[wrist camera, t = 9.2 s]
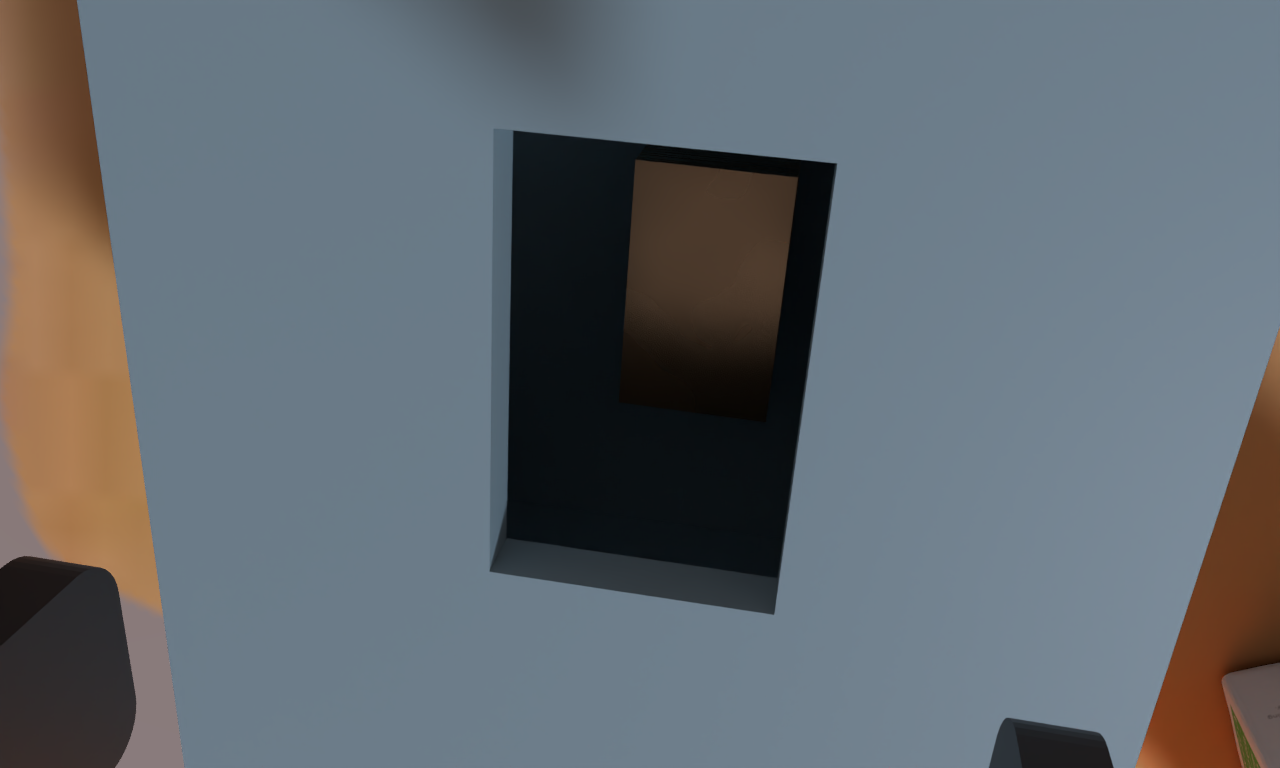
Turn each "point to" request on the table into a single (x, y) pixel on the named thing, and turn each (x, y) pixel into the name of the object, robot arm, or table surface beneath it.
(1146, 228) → the box
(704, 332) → the brown rectangular block
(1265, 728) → the skincare box
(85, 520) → the table surface
